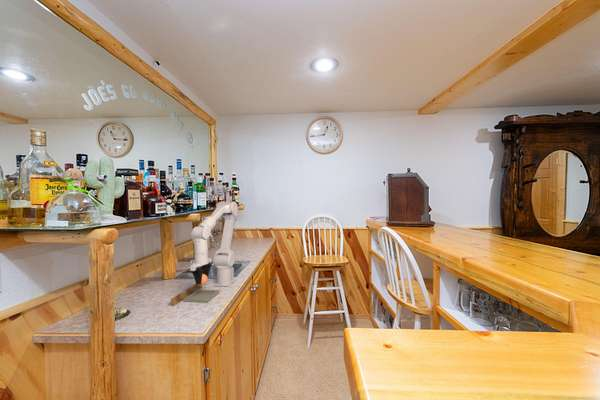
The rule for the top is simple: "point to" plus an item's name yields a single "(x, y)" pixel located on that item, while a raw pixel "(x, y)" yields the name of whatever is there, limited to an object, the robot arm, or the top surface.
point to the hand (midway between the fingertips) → (202, 281)
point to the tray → (202, 296)
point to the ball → (204, 279)
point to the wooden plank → (185, 294)
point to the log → (121, 313)
